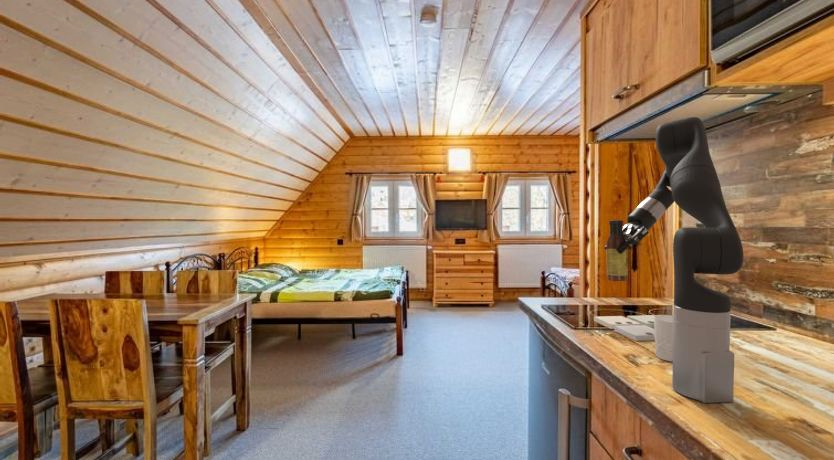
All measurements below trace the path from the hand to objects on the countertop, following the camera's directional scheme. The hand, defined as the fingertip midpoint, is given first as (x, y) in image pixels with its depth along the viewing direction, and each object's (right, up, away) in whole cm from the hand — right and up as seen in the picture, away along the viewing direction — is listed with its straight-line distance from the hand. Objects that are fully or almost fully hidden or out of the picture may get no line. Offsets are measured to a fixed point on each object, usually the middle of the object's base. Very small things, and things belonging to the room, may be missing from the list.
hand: (612, 250), depth 129 cm
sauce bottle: (+2, -10, 0) cm, 10 cm away
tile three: (+14, -24, +2) cm, 28 cm away
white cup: (0, -26, -30) cm, 40 cm away
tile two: (+2, -24, +1) cm, 25 cm away
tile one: (+3, -25, -11) cm, 27 cm away
